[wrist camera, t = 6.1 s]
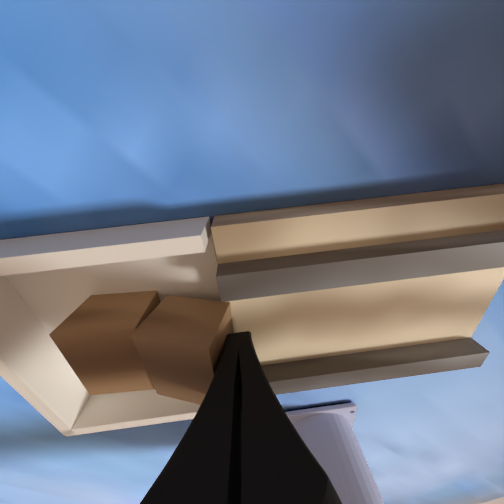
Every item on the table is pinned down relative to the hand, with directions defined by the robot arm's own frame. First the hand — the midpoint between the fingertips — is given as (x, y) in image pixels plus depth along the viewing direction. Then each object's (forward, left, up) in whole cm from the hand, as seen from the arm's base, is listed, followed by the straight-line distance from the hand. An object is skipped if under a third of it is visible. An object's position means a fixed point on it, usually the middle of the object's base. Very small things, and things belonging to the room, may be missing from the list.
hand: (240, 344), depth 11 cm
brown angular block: (0, +2, -1) cm, 3 cm away
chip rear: (0, +7, -2) cm, 7 cm away
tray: (0, +7, -3) cm, 8 cm away
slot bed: (0, -8, -3) cm, 8 cm away
